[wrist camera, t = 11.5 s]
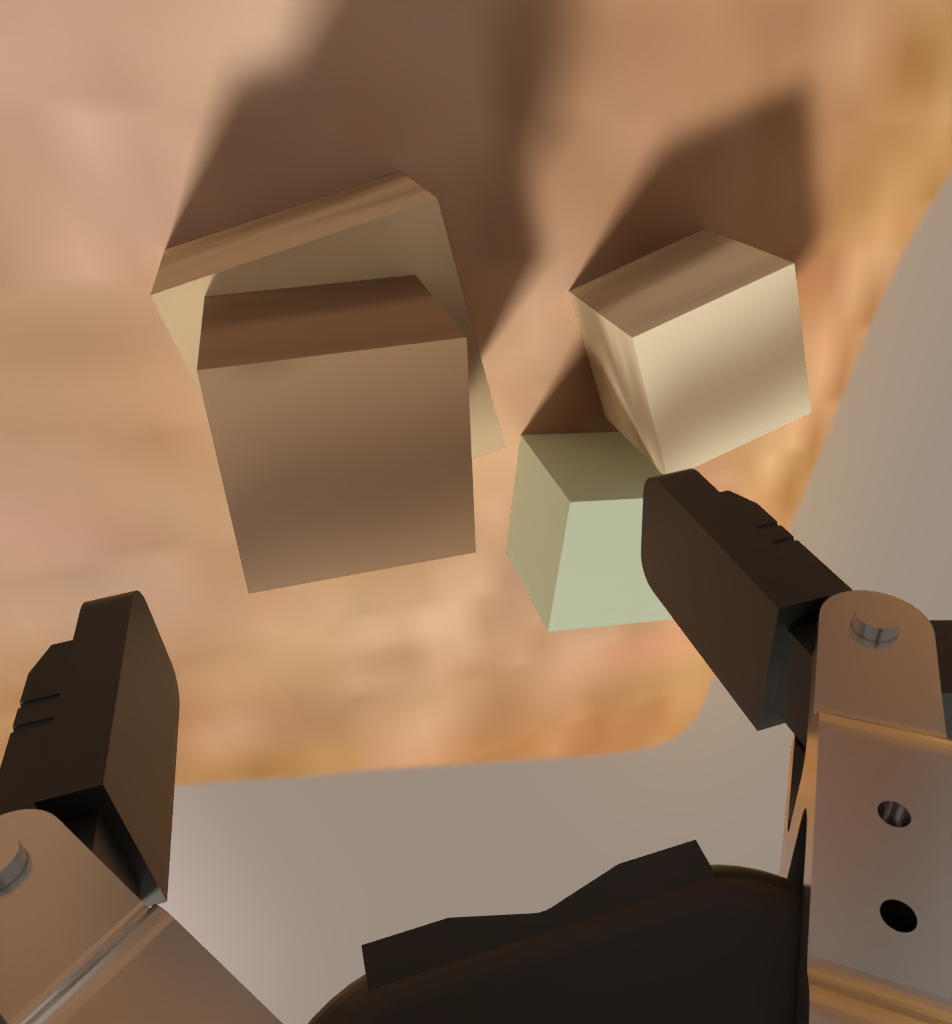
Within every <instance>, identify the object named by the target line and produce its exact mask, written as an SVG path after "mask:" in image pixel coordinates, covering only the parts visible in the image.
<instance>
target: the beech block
mask: <svg viewBox="0 0 952 1024" xmlns="http://www.w3.org/2000/svg"><path fill="white" fill-rule="evenodd" d="M569 295H570V298H571V302H572V305H573V308H574V312H575V315H576V319H577V322H578V325H579V329H580V332H581V336H582V339H583V343H584V346H585V349H586V353H587V356H588V360H589V363H590V367H591V370H592V373H593V377H594V380H595V384H596V387H597V390H598V394H599V397H600V401H601V404H602V408H603V411H604V414H605V417H606V418H607V419H608V420H609V421H610V422H611V423H612V424H613V425H614V426H615V427H616V428H617V429H618V430H619V431H620V432H621V433H622V434H623V435H624V436H625V437H626V438H627V439H628V440H629V441H630V442H631V443H632V444H633V445H634V446H635V447H636V448H637V449H638V450H639V451H640V452H641V453H642V454H643V455H644V456H645V457H646V458H647V459H648V460H649V461H650V462H651V463H652V464H653V465H654V466H655V467H656V468H657V469H658V470H659V471H660V472H661V473H662V474H668V473H672V472H677V471H681V470H686V469H690V468H691V469H692V468H694V467H696V466H698V465H700V464H702V463H704V462H707V461H709V460H711V459H713V458H715V457H717V456H719V455H721V454H724V453H726V452H728V451H730V450H732V449H734V448H736V447H739V446H741V445H743V444H745V443H747V442H749V441H751V440H753V439H756V438H758V437H760V436H762V435H764V434H766V433H768V432H771V431H773V430H775V429H777V428H779V427H781V426H783V425H785V424H788V423H790V422H792V421H794V420H796V419H798V418H800V417H803V416H805V415H807V414H809V413H811V407H810V398H809V389H808V380H807V371H806V362H805V353H804V345H803V336H802V327H801V318H800V309H799V300H798V291H797V282H796V273H795V265H794V263H793V262H790V261H788V260H785V259H782V258H780V257H777V256H775V255H772V254H770V253H767V252H765V251H762V250H759V249H757V248H754V247H752V246H749V245H747V244H744V243H741V242H739V241H736V240H734V239H731V238H729V237H726V236H723V235H721V234H718V233H716V232H713V231H711V230H708V229H706V228H705V229H703V230H700V231H698V232H696V233H694V234H692V235H690V236H687V237H685V238H683V239H681V240H679V241H677V242H674V243H672V244H670V245H668V246H666V247H663V248H661V249H659V250H657V251H655V252H653V253H650V254H648V255H646V256H644V257H642V258H640V259H637V260H635V261H633V262H631V263H629V264H626V265H624V266H622V267H620V268H618V269H616V270H613V271H611V272H609V273H607V274H605V275H602V276H600V277H598V278H596V279H594V280H592V281H589V282H587V283H585V284H583V285H581V286H579V287H576V288H574V289H572V290H570V291H569Z"/></svg>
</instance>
